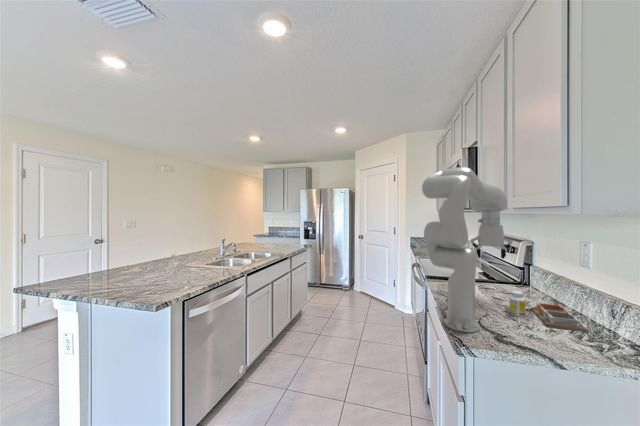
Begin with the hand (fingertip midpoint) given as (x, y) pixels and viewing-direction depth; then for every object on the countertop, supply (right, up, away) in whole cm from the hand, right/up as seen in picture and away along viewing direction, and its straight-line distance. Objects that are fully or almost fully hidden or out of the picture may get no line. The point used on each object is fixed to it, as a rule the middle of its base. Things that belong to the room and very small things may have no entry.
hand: (490, 257), depth 130 cm
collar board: (+16, -23, -18) cm, 33 cm away
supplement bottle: (+4, -23, -11) cm, 26 cm away
